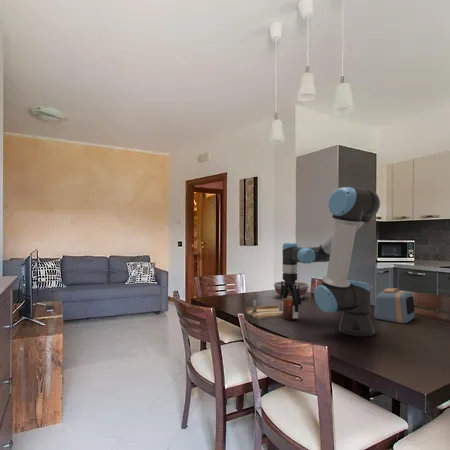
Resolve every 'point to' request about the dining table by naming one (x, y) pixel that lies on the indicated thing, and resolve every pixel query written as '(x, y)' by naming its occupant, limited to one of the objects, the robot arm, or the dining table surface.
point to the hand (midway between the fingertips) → (289, 315)
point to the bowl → (302, 286)
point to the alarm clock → (394, 306)
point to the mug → (288, 308)
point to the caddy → (265, 311)
